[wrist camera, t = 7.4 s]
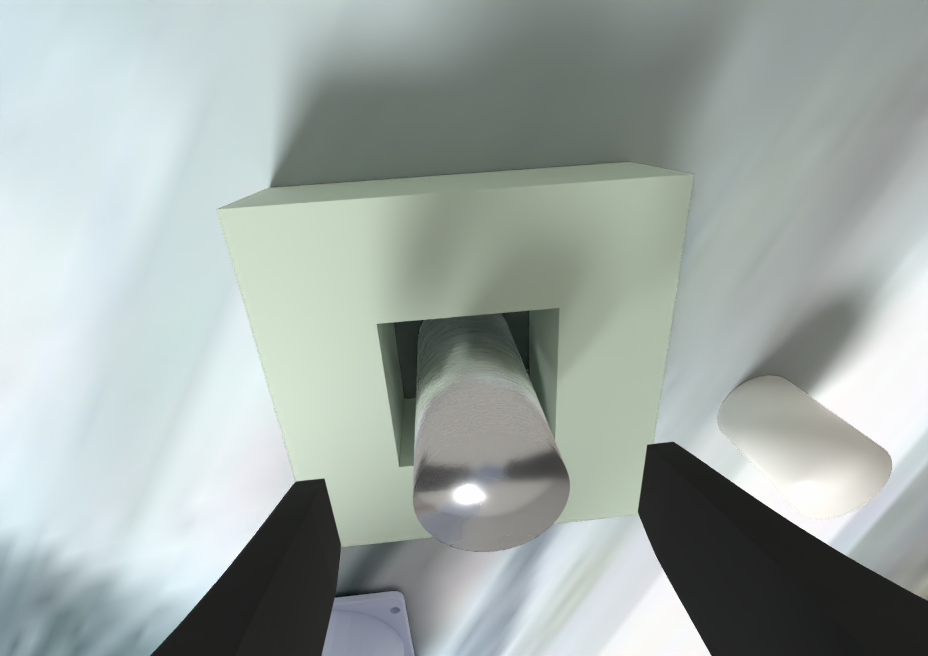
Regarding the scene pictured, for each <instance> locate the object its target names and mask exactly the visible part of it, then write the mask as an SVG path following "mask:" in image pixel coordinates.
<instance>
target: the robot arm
mask: <svg viewBox="0 0 928 656" xmlns="http://www.w3.org/2000/svg"><path fill="white" fill-rule="evenodd" d="M638 514H639V516H640V519H641V521H642V524H643V526H644V529H645V531H646V534H647V536H648V538H649V541H650V543H651V545H652V548H653V550H654V552H655V555H656V557H657V559H658V561H659V562H660V564H661V566H662V568H663V570H664V572H665V573H666V575H667V577H668V579H669V581H670V582H671V584H672V586H673V588H674V590H675V592H676V593H677V595H678V597H679V599H680V600H681V602H682V604H683V606H684V608H685V609H686V611H687V613H688V615H689V617H690V618H691V620H692V622H693V624H694V625H695V627H696V629H697V631H698V633H699V634H700V636H701V638H702V640H703V641H704V643H705V645H706V647H707V649H708V650H709V652H710V654H711V656H928V601H927V600H925V599H923V598H921V597H919V596H917V595H915V594H913V593H911V592H910V591H908V590H906V589H904V588H902V587H901V586H899V585H897V584H895V583H893V582H892V581H890V580H888V579H886V578H884V577H882V576H881V575H879V574H877V573H875V572H873V571H872V570H870V569H868V568H866V567H864V566H863V565H861V564H859V563H857V562H856V561H854V560H852V559H851V558H849V557H847V556H845V555H844V554H842V553H840V552H839V551H837V550H835V549H834V548H832V547H830V546H829V545H827V544H826V543H824V542H822V541H821V540H819V539H817V538H816V537H814V536H813V535H811V534H809V533H808V532H806V531H805V530H803V529H801V528H800V527H798V526H797V525H795V524H793V523H792V522H790V521H789V520H787V519H786V518H784V517H783V516H781V515H780V514H778V513H777V512H775V511H774V510H772V509H771V508H769V507H768V506H766V505H765V504H763V503H762V502H760V501H759V500H757V499H756V498H754V497H753V496H751V495H750V494H748V493H747V492H745V491H744V490H743V489H741V488H740V487H738V486H737V485H735V484H734V483H732V482H731V481H730V480H728V479H727V478H725V477H724V476H722V475H721V474H720V473H718V472H717V471H715V470H714V469H712V468H711V467H710V466H708V465H707V464H705V463H704V462H702V461H701V460H700V459H698V458H697V457H695V456H694V455H692V454H691V453H689V452H688V451H687V450H685V449H684V448H682V447H681V446H679V445H678V444H676V443H674V442H668V443H658V444H649V445H647V449H646V456H645V464H644V471H643V478H642V485H641V492H640V499H639V506H638ZM340 551H341V542H340V538H339V534H338V530H337V526H336V522H335V518H334V514H333V510H332V506H331V502H330V498H329V494H328V490H327V486H326V482H325V478H323V479H313V480H304V481H296V482H295V483H294V484H293V485H292V487H291V488H290V489H289V491H288V492H287V493H286V494H285V496H284V497H283V498H282V500H281V501H280V502H279V504H278V505H277V506H276V508H275V509H274V510H273V512H272V513H271V514H270V515H269V517H268V518H267V519H266V521H265V522H264V523H263V525H262V526H261V527H260V528H259V530H258V531H257V532H256V534H255V535H254V536H253V538H252V539H251V540H250V541H249V543H248V544H247V545H246V546H245V548H244V549H243V550H242V551H241V552H240V554H239V555H238V556H237V557H236V559H235V560H234V561H233V562H232V564H231V565H230V566H229V567H228V569H227V570H226V571H225V572H224V574H223V575H222V576H221V577H220V578H219V579H218V581H217V582H216V583H215V584H214V585H213V586H212V588H211V589H210V590H209V591H208V592H207V593H206V595H205V596H204V597H203V598H202V599H201V600H200V601H199V603H198V604H197V605H196V606H195V607H194V608H193V609H192V611H191V612H190V613H189V614H188V615H187V616H186V618H185V619H184V620H183V621H182V622H181V623H180V624H179V625H178V626H177V628H176V629H175V630H174V631H173V632H172V633H171V634H170V635H169V636H168V637H167V638H166V639H165V641H164V642H163V643H162V644H161V645H160V646H159V647H158V648H157V649H156V650H155V651H154V652H153V653H152V654H151V655H150V656H415V655H414V649H413V644H412V638H411V633H410V627H409V622H408V616H407V611H406V605H405V600H404V596H403V594H402V593H400V592H398V591H389V592H380V593H372V594H363V595H354V596H346V597H337V598H335V593H336V585H337V578H338V569H339V560H340Z"/></svg>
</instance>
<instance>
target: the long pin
mask: <svg viewBox="0 0 928 656" xmlns="http://www.w3.org/2000/svg"><path fill="white" fill-rule="evenodd" d="M569 492H570V480H569V475H568V472H567V469H566V467H565V464H564V462H563V459H562V457H561V454H560V452H559V449H558V447H557V445H556V442H555V440H554V437H553V435H552V432H551V430H550V427H549V425H548V422H547V420H546V418H545V415H544V413H543V410H542V408H541V405H540V403H539V400H538V398H537V395H536V393H535V391H534V388H533V386H532V383H531V381H530V378H529V376H528V373H527V371H526V368H525V366H524V364H523V361H522V359H521V356H520V354H519V351H518V349H517V346H516V344H515V341H514V339H513V337H512V334H511V332H510V329H509V327H508V324H507V322H506V320H505V318H504V316H503V315H502V314H501V313H496V314H484V315H473V316H461V317H450V318H438V319H427V320H424V321H423V322H422V324H421V327H420V330H419V334H418V353H417V383H416V414H415V444H414V474H413V506H414V511H415V514H416V516H417V518H418V520H419V522H420V523H421V525H422V526H423V528H424V529H425V530H426V531H427V532H428V533H429V534H430V535H432V536H433V537H434V538H436V539H437V540H439V541H440V542H442V543H445V544H447V545H449V546H452V547H455V548H458V549H462V550H467V551H475V552H490V551H499V550H505V549H509V548H513V547H516V546H519V545H522V544H524V543H526V542H528V541H530V540H532V539H534V538H536V537H537V536H539V535H540V534H542V533H543V532H545V531H546V530H547V529H548V528H549V527H550V526H552V525H553V523H554V522H555V521H556V520H557V519H558V518H559V516H560V515H561V513H562V512H563V510H564V508H565V506H566V504H567V501H568V497H569Z"/></svg>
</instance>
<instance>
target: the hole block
mask: <svg viewBox="0 0 928 656" xmlns="http://www.w3.org/2000/svg"><path fill="white" fill-rule="evenodd" d="M693 180H694V174H692V173H686V172H681V171H676V170H670V169H665V168H660V167H654V166H649V165H644V164H638V163H633V162H619V163H606V164H592V165H578V166H564V167H550V168H536V169H522V170H508V171H495V172H481V173H467V174H453V175H439V176H425V177H411V178H397V179H384V180H370V181H356V182H342V183H328V184H314V185H300V186H286V187H273V188H267V189H265V190H262V191H260V192H257V193H255V194H252V195H250V196H248V197H245V198H243V199H240V200H238V201H235V202H233V203H231V204H228V205H226V206H223V207H221V208H218V209H216V210H217V213H218V217H219V220H220V224H221V227H222V231H223V234H224V237H225V241H226V244H227V248H228V251H229V255H230V258H231V261H232V265H233V268H234V272H235V275H236V279H237V282H238V285H239V289H240V292H241V296H242V299H243V303H244V306H245V310H246V313H247V316H248V320H249V323H250V327H251V330H252V334H253V337H254V340H255V344H256V347H257V351H258V354H259V358H260V361H261V364H262V368H263V371H264V375H265V378H266V382H267V385H268V389H269V392H270V395H271V399H272V402H273V406H274V409H275V413H276V416H277V419H278V423H279V426H280V430H281V433H282V437H283V440H284V443H285V447H286V450H287V454H288V457H289V461H290V464H291V467H292V471H293V474H294V478H295V481H304V480H313V479H323V478H325V482H326V486H327V490H328V494H329V498H330V502H331V506H332V510H333V514H334V518H335V522H336V526H337V530H338V534H339V538H340V542H341V547H350V546H359V545H368V544H377V543H386V542H395V541H405V540H414V539H423V538H432V537H433V536H432V535H430V534H429V533H428V532H427V531H426V530H425V529H424V528H423V526H422V525H421V523H420V522H419V520H418V518H417V516H416V514H415V511H414V506H413V474H414V444H415V414H416V398H409V399H404V393H403V386H402V379H401V372H400V364H399V357H398V350H397V343H396V336H395V329H394V322H404V321H415V320H427V319H438V318H450V317H461V316H473V315H484V314H496V313H507V312H519V311H530V337H529V378H530V381H531V383H532V386H533V388H534V391H535V393H536V395H537V398H538V400H539V403H540V405H541V408H542V410H543V413H544V415H545V418H546V420H547V422H548V425H549V427H550V430H551V432H552V435H553V437H554V440H555V442H556V445H557V447H558V449H559V452H560V454H561V457H562V459H563V462H564V464H565V467H566V469H567V472H568V475H569V480H570V492H569V497H568V501H567V504H566V506H565V508H564V510H563V512H562V513H561V515H560V516H559V518H558V519H557V520H556V521H555V522H554V523H553V524H559V523H568V522H577V521H586V520H595V519H604V518H613V517H622V516H631V515H639V514H638V506H639V499H640V492H641V485H642V478H643V471H644V464H645V456H646V449H647V445H649V444H653V443H654V437H655V430H656V424H657V417H658V411H659V404H660V397H661V391H662V384H663V378H664V371H665V365H666V358H667V351H668V345H669V338H670V332H671V325H672V318H673V312H674V305H675V299H676V292H677V286H678V279H679V272H680V266H681V259H682V253H683V246H684V239H685V233H686V226H687V220H688V213H689V207H690V200H691V193H692V187H693Z"/></svg>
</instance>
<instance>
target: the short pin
mask: <svg viewBox="0 0 928 656" xmlns="http://www.w3.org/2000/svg"><path fill="white" fill-rule="evenodd" d="M718 426H719V429H720V431H721V432H722V433H723V435H724V436H725V437H726V438H727V439H728V440H729V441H730V442H731V443H732V444H733V445H734V446H735V447H736V448H737V449H738V450H739V451H740V452H741V453H742V454H743V455H744V457H745V458H746V459H747V460H748V461H749V462H750V463H751V464H752V465H753V466H754V467H755V468H756V469H757V470H758V471H759V472H760V473H761V474H762V475H763V476H764V477H765V478H766V480H767V481H768V482H769V483H770V484H771V485H772V486H773V487H774V488H775V489H776V490H777V491H778V492H779V493H780V494H781V495H782V496H783V497H784V498H785V499H786V500H787V501H788V502H789V504H790V505H791V506H792V507H793V508H794V509H795V510H796V511H797V512H798V513H799V514H801V515H802V516H804V517H807V518H810V519H818V520H823V519H832V518H836V517H840V516H843V515H846V514H848V513H851V512H853V511H855V510H857V509H859V508H860V507H862V506H864V505H865V504H866V503H868V502H869V501H870V500H872V499H873V498H874V497H875V496H876V495H877V494H878V493H879V492H880V491H881V490H882V488H883V487H884V486H885V484H886V483H887V481H888V479H889V477H890V474H891V470H892V460H891V457H890V455H889V453H888V452H887V451H886V450H885V449H884V448H882V447H881V446H879V445H878V444H877V443H875V442H874V441H872V440H871V439H870V438H868V437H867V436H865V435H864V434H863V433H861V432H860V431H858V430H857V429H856V428H854V427H853V426H851V425H850V424H848V423H847V422H846V421H844V420H843V419H841V418H840V417H839V416H837V415H836V414H834V413H833V412H832V411H830V410H829V409H827V408H826V407H825V406H823V405H822V404H820V403H819V402H817V401H816V400H815V399H813V398H812V397H810V396H809V395H808V394H806V393H805V392H803V391H802V390H801V389H799V388H798V387H796V386H795V385H794V384H792V383H791V382H789V381H788V380H786V379H785V378H782V377H779V376H772V375H768V376H760V377H756V378H753V379H751V380H748V381H746V382H744V383H743V384H741V385H739V386H738V387H737V388H735V389H734V390H733V391H732V392H731V393H730V394H729V395H728V396H727V397H726V399H725V400H724V401H723V403H722V405H721V407H720V409H719V412H718Z"/></svg>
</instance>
